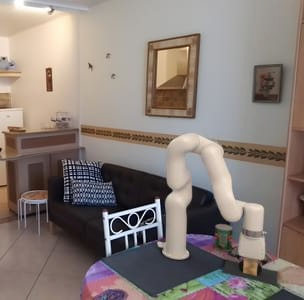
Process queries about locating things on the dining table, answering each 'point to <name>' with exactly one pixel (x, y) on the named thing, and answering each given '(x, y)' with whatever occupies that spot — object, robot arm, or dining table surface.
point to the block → (250, 266)
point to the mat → (263, 276)
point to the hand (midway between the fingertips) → (250, 271)
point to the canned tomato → (223, 237)
